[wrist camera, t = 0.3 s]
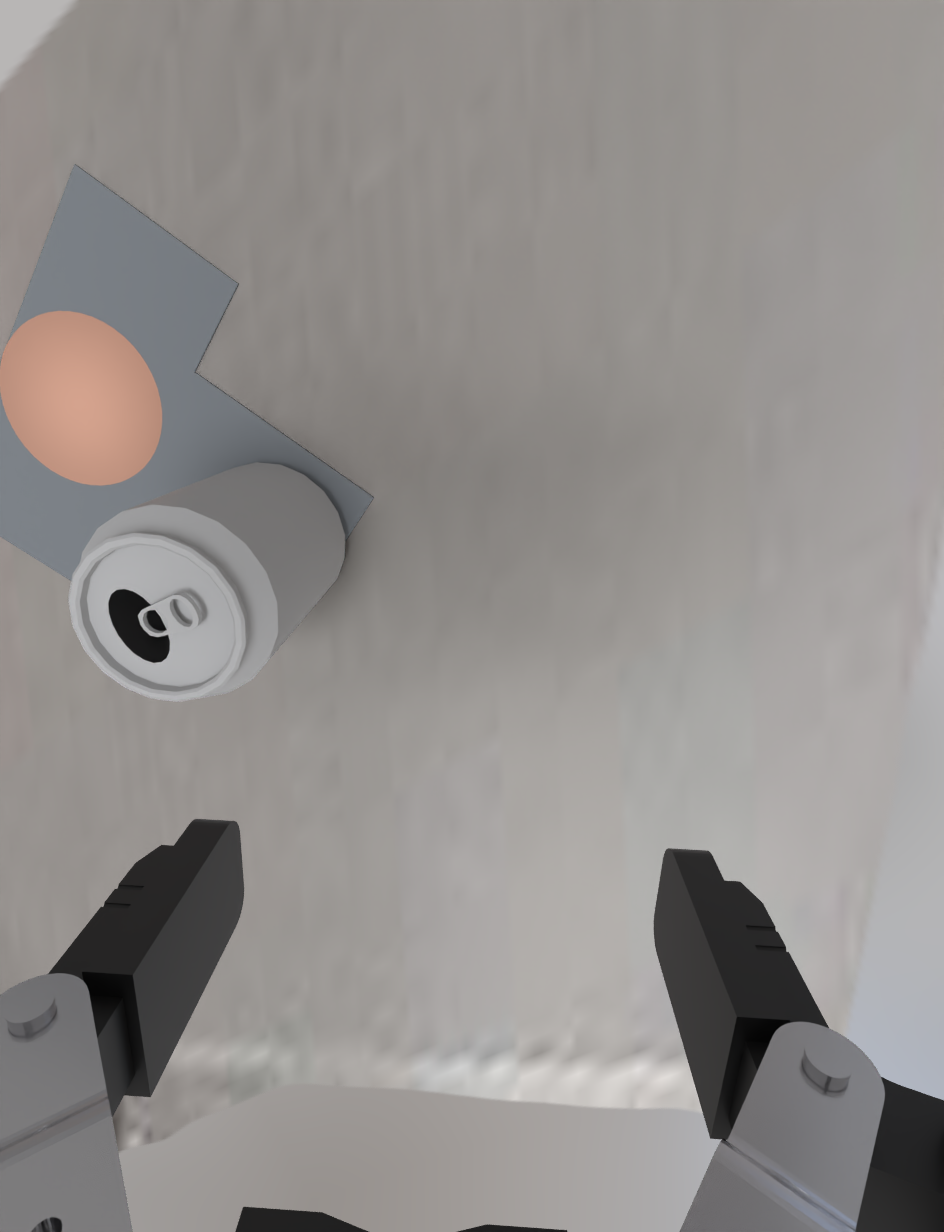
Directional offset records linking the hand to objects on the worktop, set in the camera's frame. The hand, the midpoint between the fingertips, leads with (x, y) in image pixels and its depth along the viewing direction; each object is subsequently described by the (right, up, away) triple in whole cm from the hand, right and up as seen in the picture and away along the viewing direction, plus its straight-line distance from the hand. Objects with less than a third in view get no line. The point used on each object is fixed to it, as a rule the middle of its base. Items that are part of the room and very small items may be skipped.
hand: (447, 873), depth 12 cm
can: (-9, +9, +21) cm, 25 cm away
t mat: (-14, +12, +20) cm, 28 cm away
